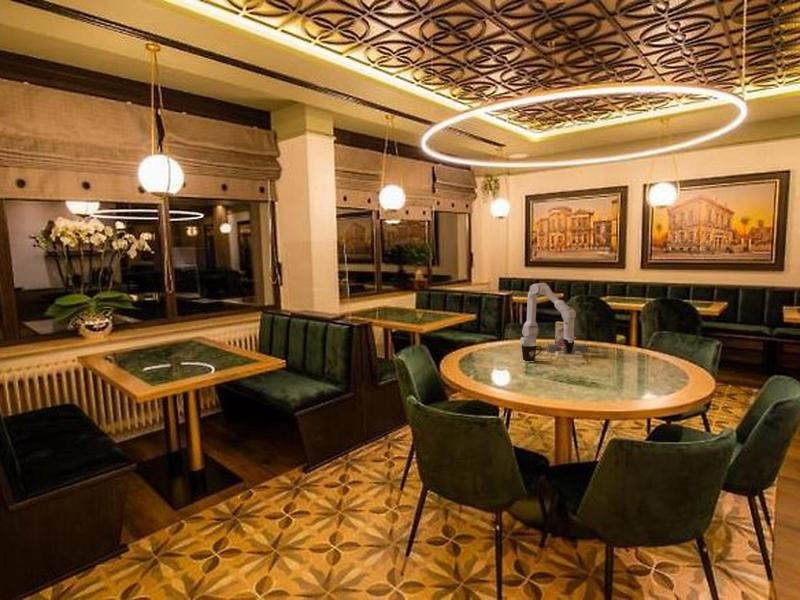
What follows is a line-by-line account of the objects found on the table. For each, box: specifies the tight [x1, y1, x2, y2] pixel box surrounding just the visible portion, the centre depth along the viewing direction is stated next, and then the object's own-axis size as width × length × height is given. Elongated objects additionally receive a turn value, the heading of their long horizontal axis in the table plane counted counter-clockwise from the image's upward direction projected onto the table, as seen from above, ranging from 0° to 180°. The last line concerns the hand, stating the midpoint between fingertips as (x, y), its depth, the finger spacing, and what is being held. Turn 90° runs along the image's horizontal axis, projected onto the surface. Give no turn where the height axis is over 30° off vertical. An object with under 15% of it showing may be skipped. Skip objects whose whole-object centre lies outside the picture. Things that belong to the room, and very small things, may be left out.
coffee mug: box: [521, 343, 543, 361], centre depth 270 cm, size 12×9×10 cm
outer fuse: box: [574, 343, 587, 354], centre depth 284 cm, size 6×4×4 cm, turn 77°
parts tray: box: [555, 350, 584, 359], centre depth 277 cm, size 14×10×2 cm
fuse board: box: [545, 346, 590, 354], centre depth 286 cm, size 25×6×4 cm, turn 77°
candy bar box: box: [554, 321, 575, 347], centre depth 303 cm, size 11×5×16 cm, turn 58°
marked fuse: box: [562, 345, 576, 355], centre depth 277 cm, size 6×4×5 cm
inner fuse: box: [547, 343, 560, 354], centre depth 288 cm, size 6×4×4 cm, turn 77°
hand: (568, 352), depth 277 cm, fingers closed on marked fuse, 4 cm apart
